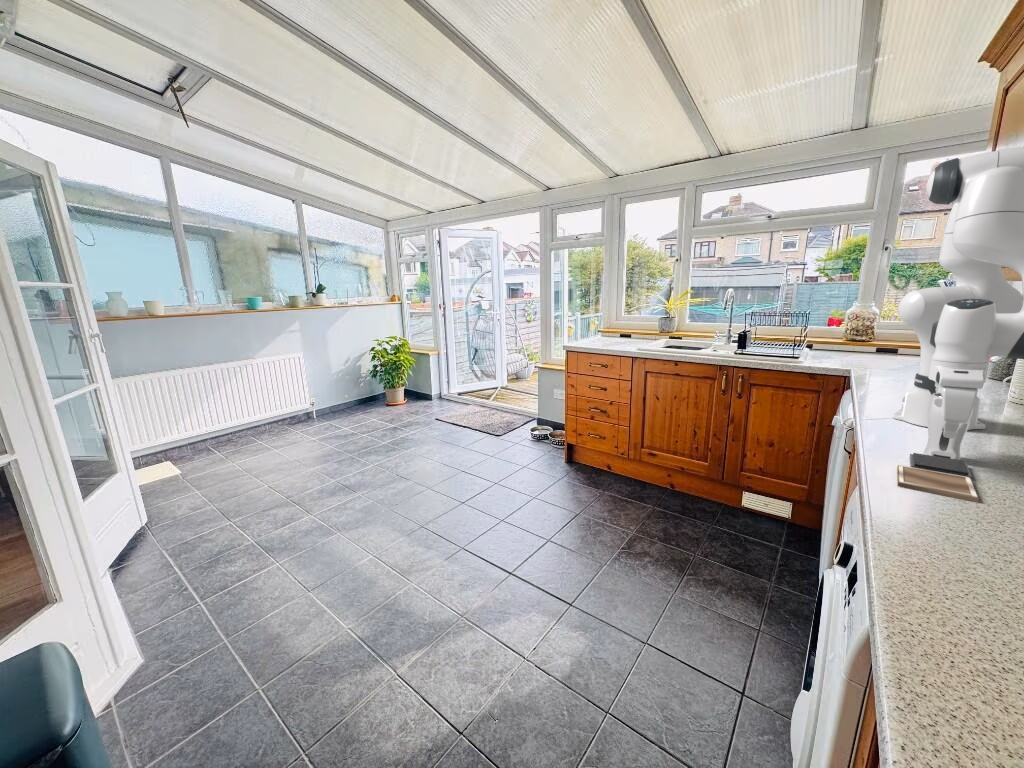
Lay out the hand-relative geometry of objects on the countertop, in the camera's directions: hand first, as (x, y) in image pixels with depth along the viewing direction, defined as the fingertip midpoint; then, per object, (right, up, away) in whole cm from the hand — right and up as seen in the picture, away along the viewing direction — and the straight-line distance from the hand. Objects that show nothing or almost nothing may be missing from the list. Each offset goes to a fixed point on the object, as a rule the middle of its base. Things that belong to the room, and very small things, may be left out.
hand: (946, 432), depth 95 cm
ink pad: (-6, -8, -4) cm, 11 cm away
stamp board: (-14, -9, -11) cm, 20 cm away
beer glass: (0, -6, +2) cm, 7 cm away
